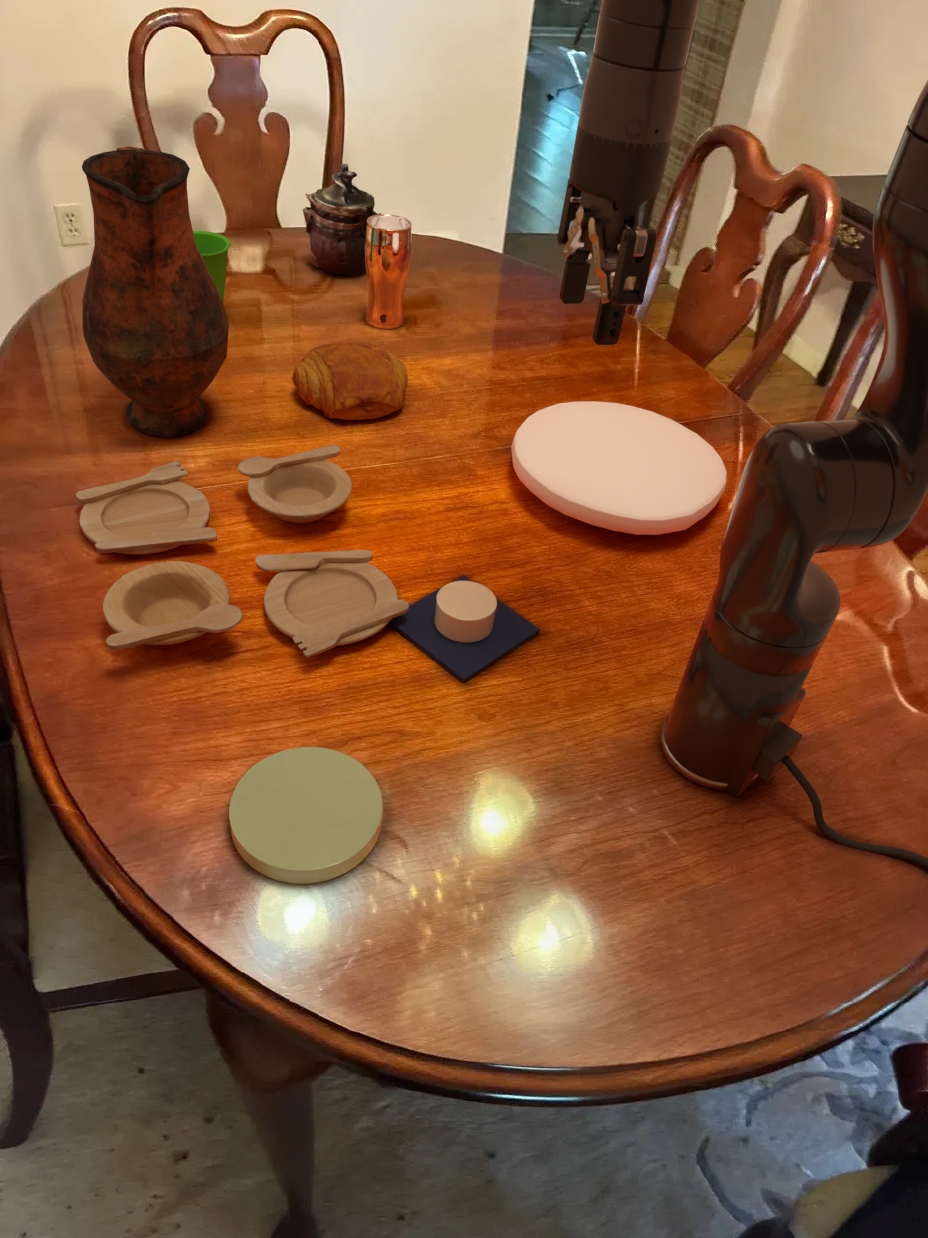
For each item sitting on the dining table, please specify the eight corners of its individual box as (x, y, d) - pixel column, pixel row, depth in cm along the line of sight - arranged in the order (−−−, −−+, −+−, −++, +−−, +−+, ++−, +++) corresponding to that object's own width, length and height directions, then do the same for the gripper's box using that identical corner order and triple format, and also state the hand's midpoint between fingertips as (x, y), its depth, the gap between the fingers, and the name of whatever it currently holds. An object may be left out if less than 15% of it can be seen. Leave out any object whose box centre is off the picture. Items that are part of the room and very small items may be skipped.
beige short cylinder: (505, 625, 93) (509, 603, 91) (463, 651, 90) (466, 628, 88) (463, 595, 96) (466, 572, 94) (421, 619, 93) (423, 596, 91)
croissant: (292, 388, 130) (282, 335, 124) (400, 370, 132) (395, 317, 127) (306, 440, 119) (296, 384, 114) (423, 419, 122) (419, 363, 116)
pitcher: (103, 457, 109) (53, 190, 89) (93, 372, 124) (49, 126, 104) (245, 444, 114) (228, 189, 94) (220, 364, 129) (200, 128, 109)
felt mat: (539, 633, 94) (540, 629, 93) (463, 683, 87) (464, 679, 87) (462, 579, 99) (463, 574, 98) (385, 622, 93) (386, 618, 92)
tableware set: (76, 488, 104) (68, 457, 101) (329, 456, 113) (329, 427, 111) (105, 709, 80) (97, 676, 77) (423, 645, 90) (426, 614, 87)
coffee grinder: (317, 291, 150) (317, 173, 138) (298, 255, 160) (297, 143, 148) (392, 288, 154) (398, 173, 142) (370, 254, 164) (373, 144, 152)
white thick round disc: (531, 377, 125) (728, 416, 122) (523, 422, 128) (714, 460, 126) (499, 465, 102) (740, 514, 100) (490, 516, 106) (722, 564, 104)
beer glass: (356, 312, 145) (358, 214, 135) (397, 309, 148) (402, 212, 138) (371, 332, 141) (375, 231, 131) (413, 327, 143) (420, 229, 133)
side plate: (412, 824, 75) (413, 811, 74) (293, 914, 68) (292, 900, 67) (319, 738, 81) (318, 724, 79) (200, 812, 74) (198, 798, 72)
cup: (162, 320, 137) (152, 245, 129) (192, 298, 143) (185, 225, 136) (217, 333, 135) (211, 258, 128) (245, 310, 142) (241, 238, 135)
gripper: (708, 154, 69) (656, 357, 79) (633, 102, 79) (596, 288, 89) (616, 151, 67) (575, 359, 77) (551, 98, 77) (523, 289, 87)
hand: (587, 321), depth 83 cm, fingers open, 8 cm apart
